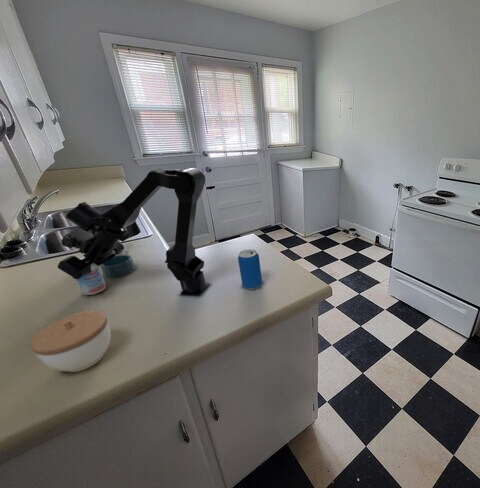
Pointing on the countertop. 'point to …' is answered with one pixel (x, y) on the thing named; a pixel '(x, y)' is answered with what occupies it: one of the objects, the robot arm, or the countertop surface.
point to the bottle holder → (118, 266)
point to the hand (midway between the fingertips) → (83, 272)
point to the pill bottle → (92, 281)
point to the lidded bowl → (73, 341)
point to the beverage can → (250, 269)
